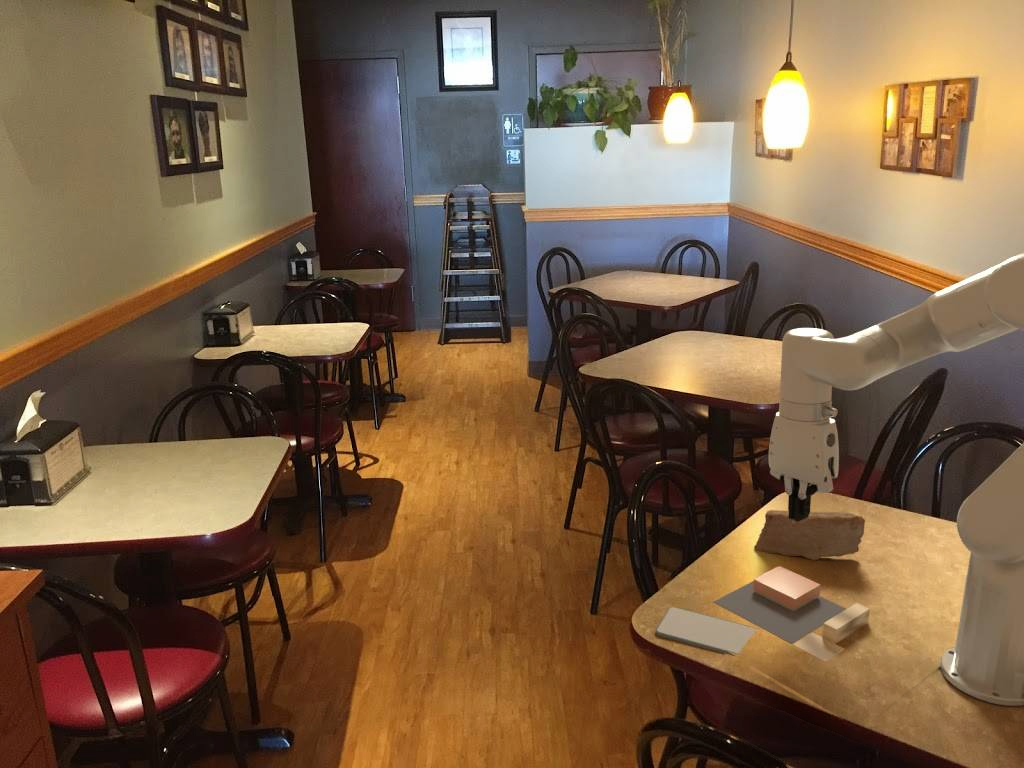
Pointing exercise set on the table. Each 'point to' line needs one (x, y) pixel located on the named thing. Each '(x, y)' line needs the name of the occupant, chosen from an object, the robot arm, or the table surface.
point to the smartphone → (704, 631)
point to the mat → (779, 613)
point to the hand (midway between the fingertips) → (798, 517)
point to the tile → (786, 588)
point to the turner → (835, 632)
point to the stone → (811, 534)
